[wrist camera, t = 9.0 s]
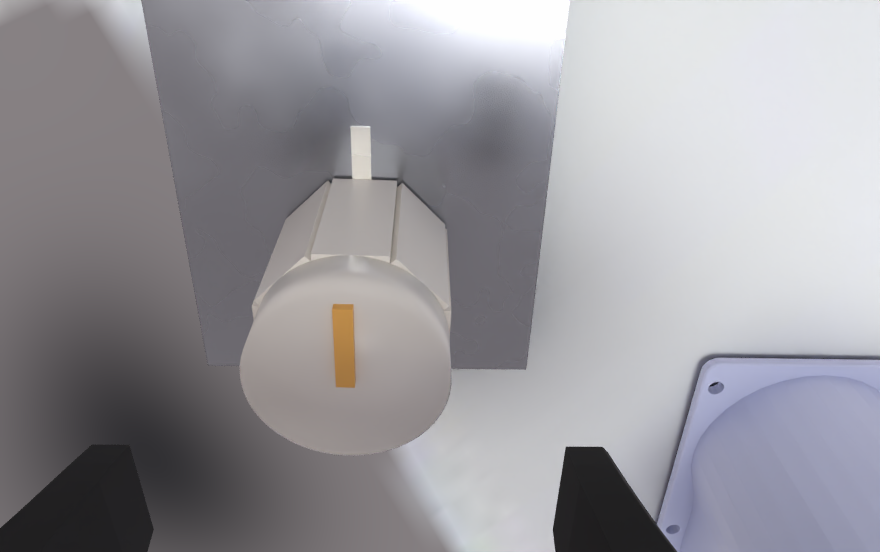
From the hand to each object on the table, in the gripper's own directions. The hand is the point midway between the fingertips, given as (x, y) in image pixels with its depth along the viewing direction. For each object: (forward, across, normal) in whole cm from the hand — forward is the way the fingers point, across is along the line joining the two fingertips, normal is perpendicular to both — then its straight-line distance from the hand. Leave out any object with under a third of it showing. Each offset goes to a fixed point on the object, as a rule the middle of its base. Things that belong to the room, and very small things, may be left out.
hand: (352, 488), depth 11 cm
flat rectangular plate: (+10, 0, -4) cm, 11 cm away
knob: (+9, 0, 0) cm, 9 cm away
